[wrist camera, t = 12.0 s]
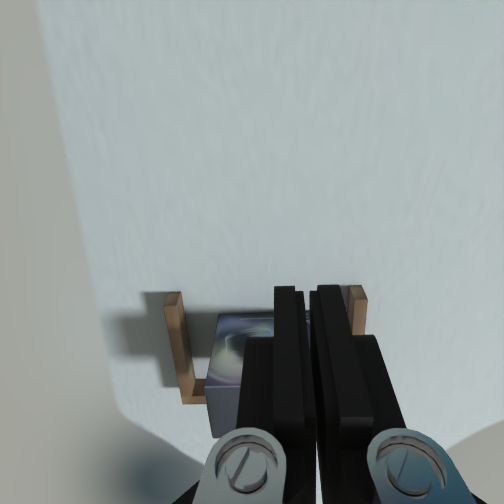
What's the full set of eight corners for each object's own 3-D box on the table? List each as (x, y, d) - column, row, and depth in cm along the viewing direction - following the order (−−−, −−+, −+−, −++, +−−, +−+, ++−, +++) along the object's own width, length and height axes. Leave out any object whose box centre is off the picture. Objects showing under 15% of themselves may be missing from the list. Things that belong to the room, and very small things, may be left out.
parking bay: (361, 285, 38) (367, 299, 35) (353, 383, 44) (358, 401, 41) (169, 292, 39) (163, 306, 36) (186, 387, 45) (182, 404, 42)
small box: (318, 306, 39) (335, 383, 30) (318, 355, 42) (333, 439, 33) (216, 311, 40) (202, 387, 30) (223, 358, 43) (211, 442, 33)
